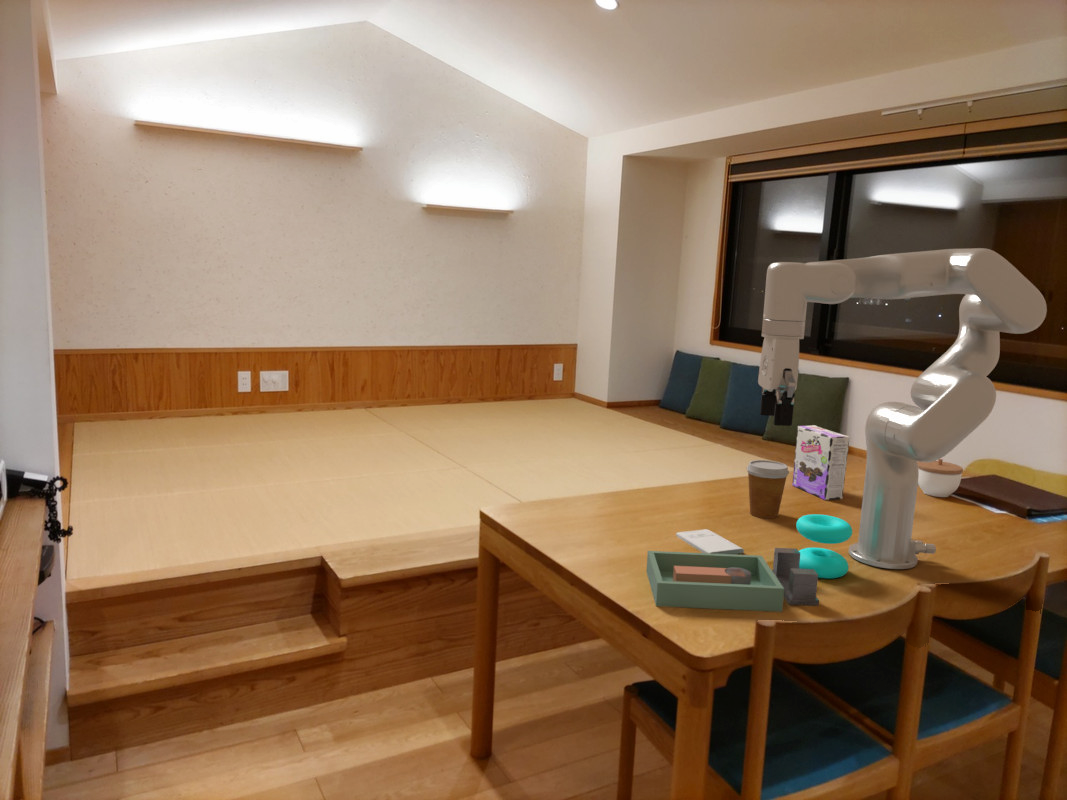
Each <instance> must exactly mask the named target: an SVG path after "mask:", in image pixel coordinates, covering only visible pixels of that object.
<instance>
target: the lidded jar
mask: <svg viewBox="0 0 1067 800" xmlns="http://www.w3.org/2000/svg"><path fill="white" fill-rule="evenodd" d="M943 460H944V459H943V458H940V459H938V460H936V461H933V462H919V461H917V462H918V470H919V478H918V487H919V488H920V489H921V491H923V494H925V495H928V496H929V497H930V496H931V497H937V498H949V497H950V496H951V495H952V494H953V493H954V492H956V491H957V489H959V486H960V484H961V481H962V475H963V471H964V468H963V467H962V466H960V465H958V464H956V463H951V462H947V461H943Z"/></svg>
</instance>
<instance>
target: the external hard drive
mask: <svg viewBox="0 0 1067 800" xmlns="http://www.w3.org/2000/svg"><path fill="white" fill-rule="evenodd" d="M676 536H677V537H678V539H679V538H680V539H682V540H683V541H685V542H686V543H685V542H684V543H685V544H687V543H688V544H689V545H688V544H687V545H688V546H690V545H691V546H692V547H691V546H690V547H691V548H693V547H694V548H693V549H695V548H696V549H697V550H696V549H695V550H696V551H698V550H699V551H701V552H702V553H711V554H734V555H742V554H744V551H745V550H744V548H742V547H740V546H738V545H737V544H736V543H733V542H732V541H730V540H728V539H726V538H724V537H723V536H721V535H719V534H717V533H716V532H715V531H711V530H709V529H708V528H704V529H698V530H697V529H696V530H687V531H679V532H676V533H675V537H676ZM677 537H676V538H677ZM680 539H679V540H680ZM682 540H681V541H682ZM683 541H682V542H683ZM699 551H698V552H699ZM701 552H700V553H701ZM738 553H740V554H738Z"/></svg>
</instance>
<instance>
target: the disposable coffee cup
mask: <svg viewBox="0 0 1067 800" xmlns="http://www.w3.org/2000/svg"><path fill="white" fill-rule="evenodd" d="M788 468H789V467H788V465H786V463H783V462H779V461H777V460H776V461H774V460H768V459H767V460H766V459H755V460H750V461H749V462H748V465H747V466H746V470H747V471H746V472H747V475H748V476H747V477H748V495H749V499H748V500H749V513H750V514H751V515H752V516H754V517H758V518H761V519H776V518H778V516H779V512H780V507H781V505H782V499H783V495H784V490H785V486H786V480H787V477H789V476H788V475H789V474H790V471H789V469H788Z"/></svg>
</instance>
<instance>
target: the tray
mask: <svg viewBox="0 0 1067 800" xmlns="http://www.w3.org/2000/svg"><path fill="white" fill-rule="evenodd" d="M674 566H691V567H712V568H731V567H736V568H742V569H746V570H748V571H750V572H751V585H744V584H721V583H699V582H677V581H673V570H674ZM772 570H773V569H771V568H770V566H769V564H768V563H767V561H766V560H765V559H764V557H763V556H762V555H757V554H756V555H755V554H754V555H753V554H751V555H750V554H711V553H701V552H688V551H687V552H685V551H683V552H682V551H661V550H647V557H646V574H647V579H648V582H649V585H650V590H651V592H652V597H653V600H654V603H655V607H668V608H670V607H671V608H687V609H689V608H690V609H691V608H692V609H712V610H713V609H714V610H730V611H731V610H735V611H754V612H755V611H756V612H757V611H758V612H780V613H783V607H784V587H783V586H782V585H781V583H780V582H779V580H778V579H777V577H776V576H775V574H774V573H773V572H772Z"/></svg>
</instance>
